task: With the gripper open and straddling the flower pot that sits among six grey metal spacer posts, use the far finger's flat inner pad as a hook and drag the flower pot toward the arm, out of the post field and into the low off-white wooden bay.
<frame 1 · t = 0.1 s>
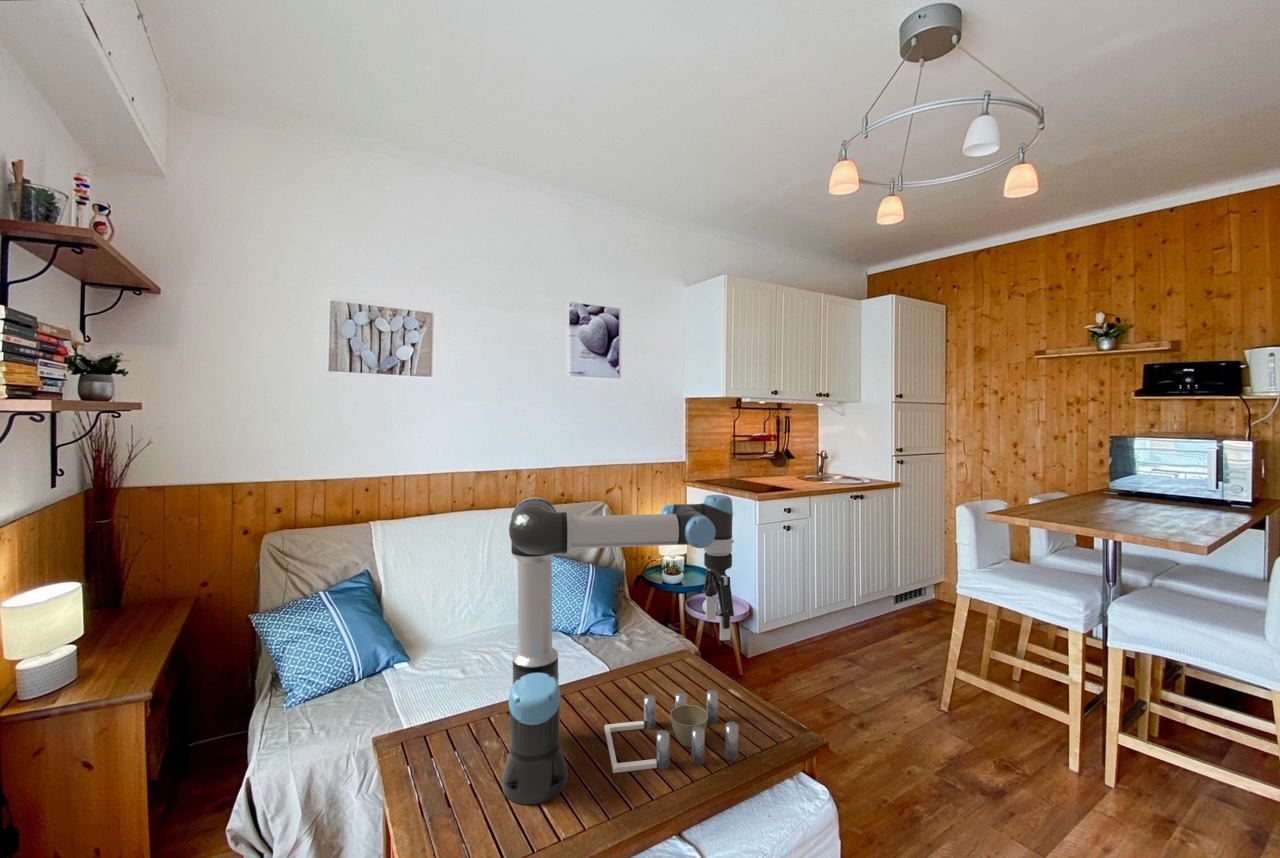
hand: (717, 629, 148), 28 cm above the table, fingers open, 13 cm apart
bay: (631, 747, 141), on the table
spacers: (688, 740, 144), on the table
flower pot: (688, 741, 144), on the table
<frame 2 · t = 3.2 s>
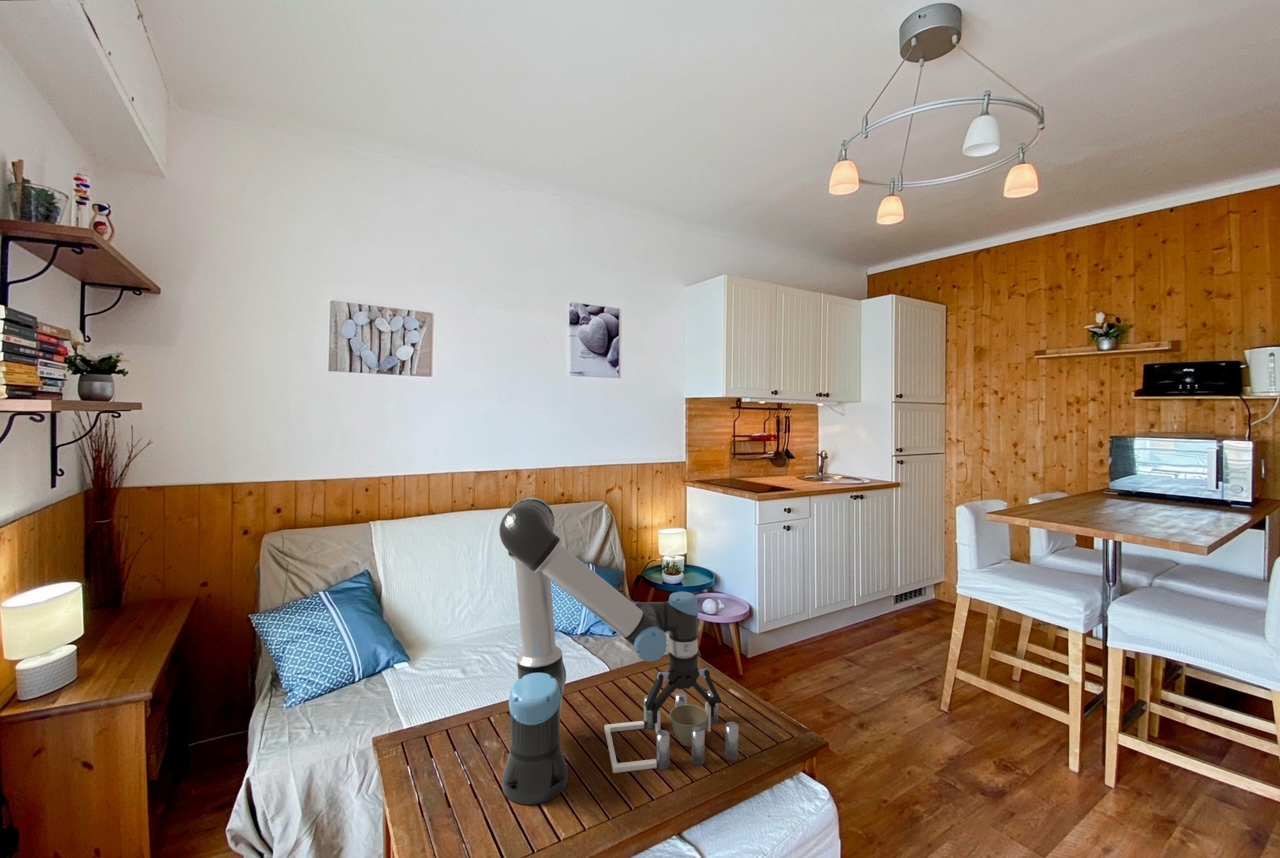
hand: (683, 731, 143), 3 cm above the table, fingers open, 13 cm apart
flower pot: (688, 741, 144), on the table, touching gripper
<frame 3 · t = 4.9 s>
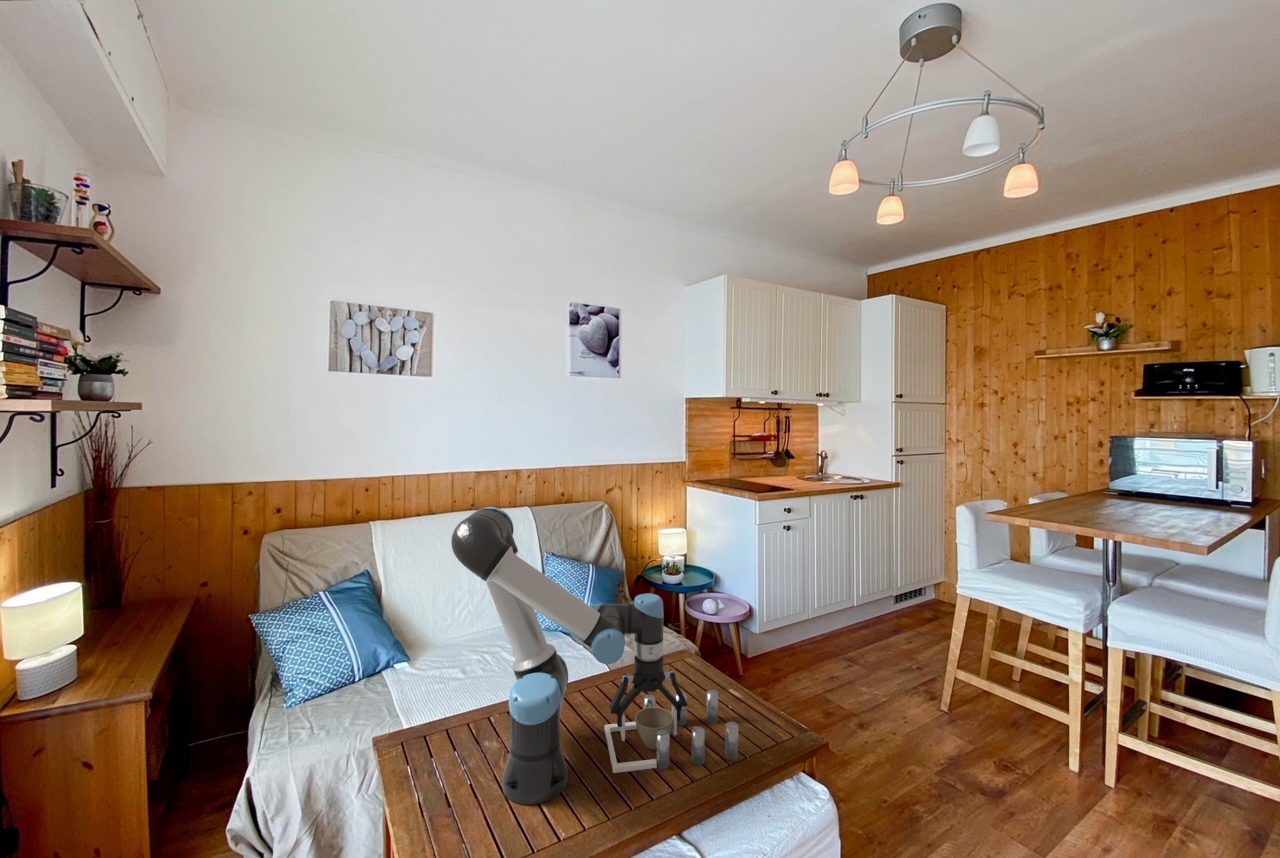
hand: (648, 735, 142), 3 cm above the table, fingers open, 13 cm apart
flower pot: (654, 744, 142), on the table, touching gripper
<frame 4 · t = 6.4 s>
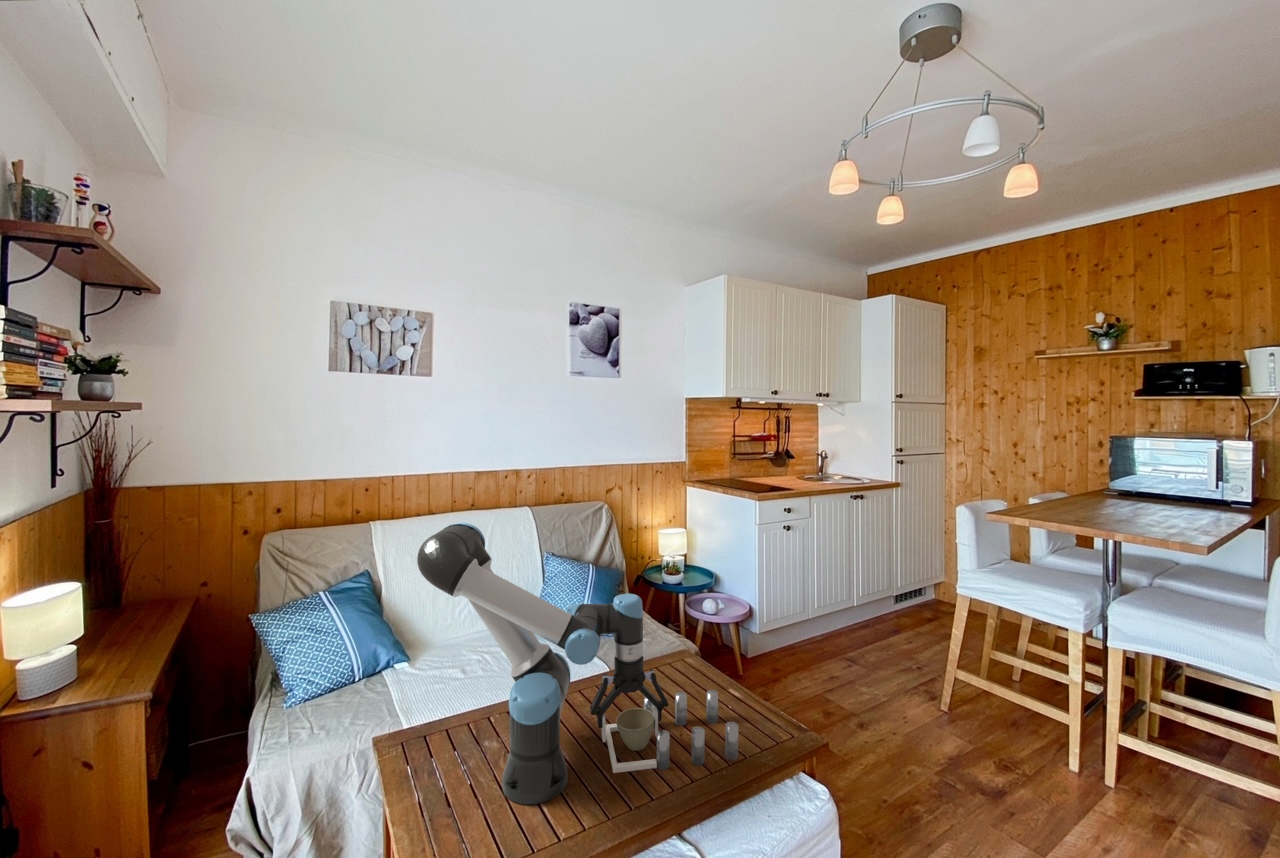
hand: (629, 736, 141), 3 cm above the table, fingers open, 13 cm apart
flower pot: (637, 745, 142), on the table, touching gripper
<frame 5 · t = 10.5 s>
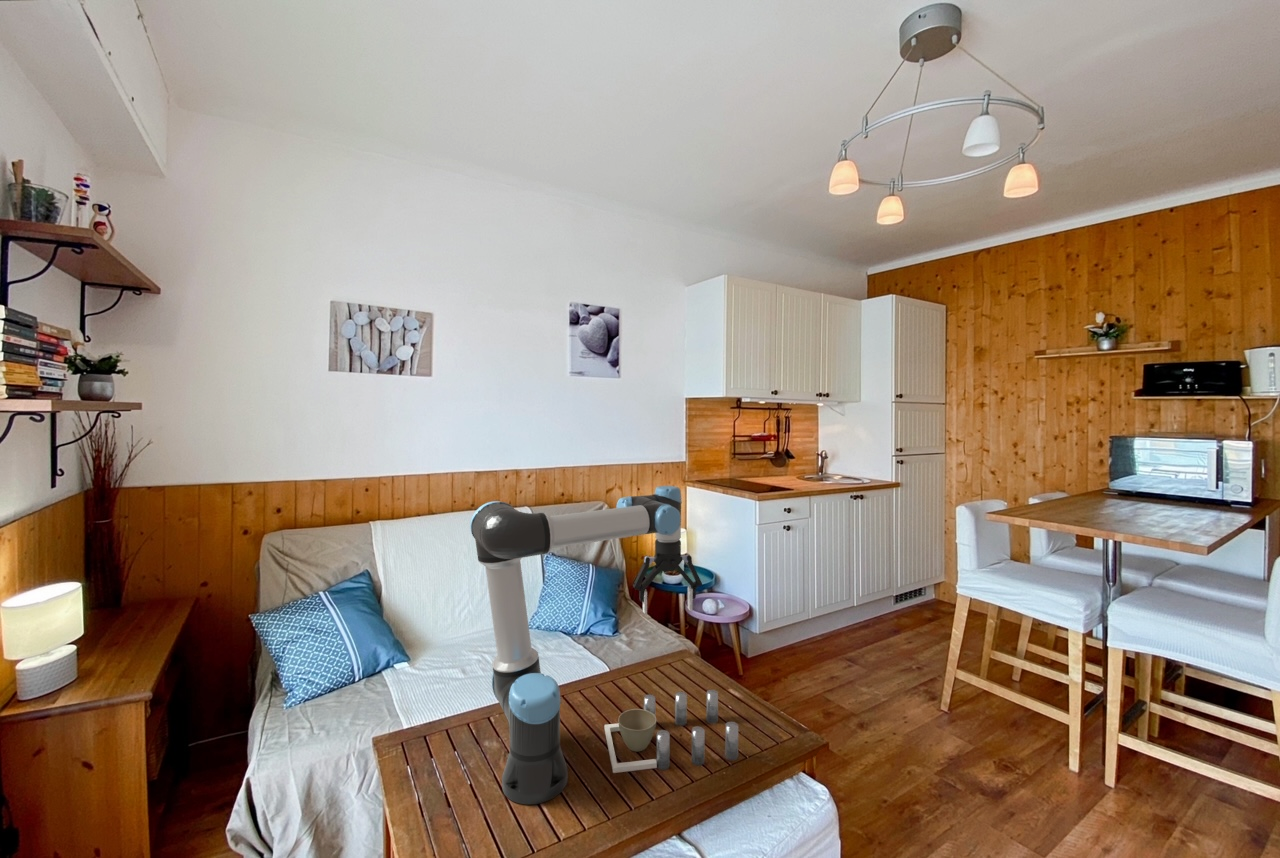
hand: (667, 611, 159), 29 cm above the table, fingers open, 13 cm apart
flower pot: (637, 746, 142), on the table
at the end: flower pot inside the target area (1.4 cm from its centre), on the table; flower pot tilted 0° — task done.
